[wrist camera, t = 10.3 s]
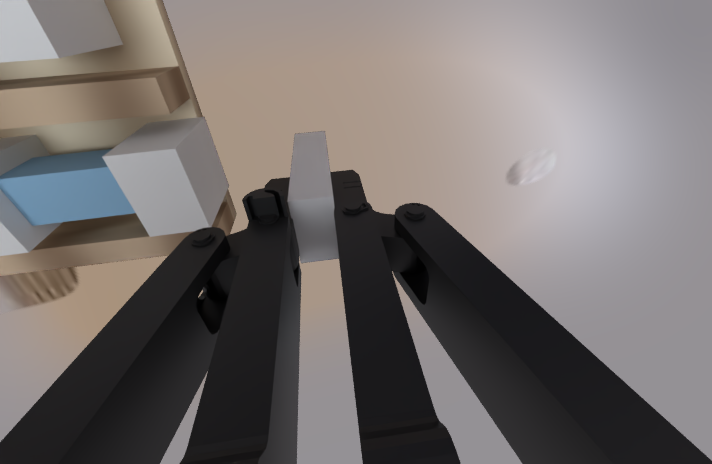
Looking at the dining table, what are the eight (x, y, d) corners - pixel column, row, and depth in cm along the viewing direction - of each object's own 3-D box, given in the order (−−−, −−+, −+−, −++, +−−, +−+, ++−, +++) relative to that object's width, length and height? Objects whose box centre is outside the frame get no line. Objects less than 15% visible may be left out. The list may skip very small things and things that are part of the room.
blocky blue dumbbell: (33, 209, 17) (-37, 260, 14) (-25, 140, 15) (-126, 182, 11) (229, 185, 18) (210, 228, 15) (204, 116, 16) (175, 148, 12)
